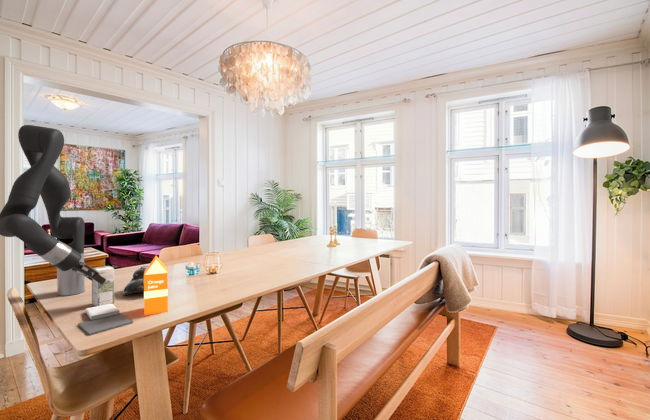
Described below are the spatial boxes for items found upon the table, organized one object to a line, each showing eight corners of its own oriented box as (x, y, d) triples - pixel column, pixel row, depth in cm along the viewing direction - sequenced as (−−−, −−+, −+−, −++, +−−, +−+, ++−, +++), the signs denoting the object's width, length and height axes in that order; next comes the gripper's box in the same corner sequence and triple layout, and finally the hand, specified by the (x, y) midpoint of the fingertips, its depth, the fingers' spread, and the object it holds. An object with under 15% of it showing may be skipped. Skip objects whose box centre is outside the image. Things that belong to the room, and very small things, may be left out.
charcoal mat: (77, 325, 100) (77, 323, 100) (119, 314, 110) (119, 312, 110) (89, 335, 93) (89, 333, 93) (133, 322, 102) (133, 321, 102)
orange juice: (143, 315, 109) (143, 260, 108) (144, 307, 117) (144, 255, 116) (168, 311, 113) (167, 258, 112) (167, 304, 121) (167, 254, 120)
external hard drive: (90, 321, 102) (85, 312, 111) (119, 314, 108) (112, 306, 117) (90, 316, 102) (85, 308, 111) (119, 309, 108) (112, 302, 117)
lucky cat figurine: (115, 296, 129) (121, 264, 135) (140, 299, 139) (145, 269, 145) (141, 289, 125) (146, 257, 131) (165, 293, 135) (169, 263, 141)
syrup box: (108, 300, 124) (108, 265, 124) (114, 303, 121) (114, 267, 120) (92, 304, 119) (91, 267, 119) (97, 307, 116) (97, 270, 115)
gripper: (78, 249, 107) (115, 274, 117) (62, 245, 114) (99, 269, 125) (59, 266, 103) (99, 291, 113) (44, 261, 110) (83, 285, 120)
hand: (99, 280), depth 119 cm, fingers open, 8 cm apart
